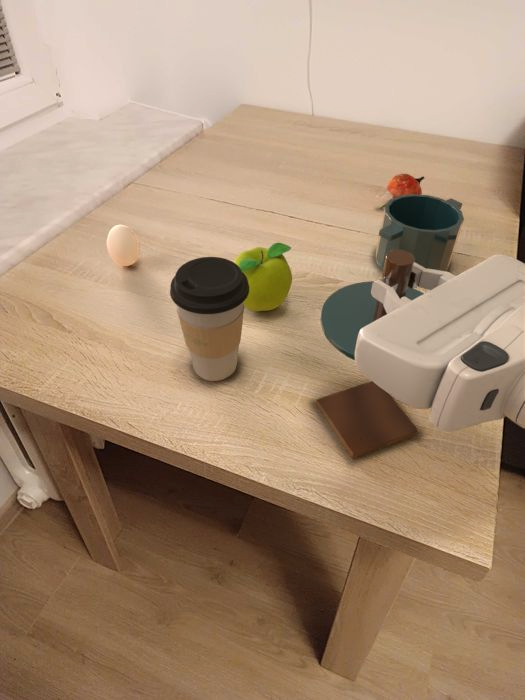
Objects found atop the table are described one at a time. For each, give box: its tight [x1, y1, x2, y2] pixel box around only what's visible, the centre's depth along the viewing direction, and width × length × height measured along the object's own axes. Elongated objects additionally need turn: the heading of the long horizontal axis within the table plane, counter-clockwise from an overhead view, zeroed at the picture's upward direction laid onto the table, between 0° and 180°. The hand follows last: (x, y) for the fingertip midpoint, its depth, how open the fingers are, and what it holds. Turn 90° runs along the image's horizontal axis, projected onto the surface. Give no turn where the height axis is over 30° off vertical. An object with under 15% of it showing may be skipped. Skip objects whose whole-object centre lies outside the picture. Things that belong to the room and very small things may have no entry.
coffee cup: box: [169, 256, 249, 382], centre depth 63 cm, size 9×9×15 cm
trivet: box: [315, 380, 419, 460], centre depth 62 cm, size 9×9×1 cm
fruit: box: [233, 242, 293, 312], centre depth 75 cm, size 9×9×10 cm
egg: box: [106, 224, 141, 267], centre depth 84 cm, size 5×5×7 cm
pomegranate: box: [379, 173, 425, 210], centre depth 99 cm, size 7×7×10 cm
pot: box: [375, 194, 465, 272], centre depth 84 cm, size 12×18×10 cm
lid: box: [319, 250, 425, 361], centre depth 49 cm, size 13×13×9 cm
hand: (391, 277), depth 48 cm, fingers closed on lid, 2 cm apart
